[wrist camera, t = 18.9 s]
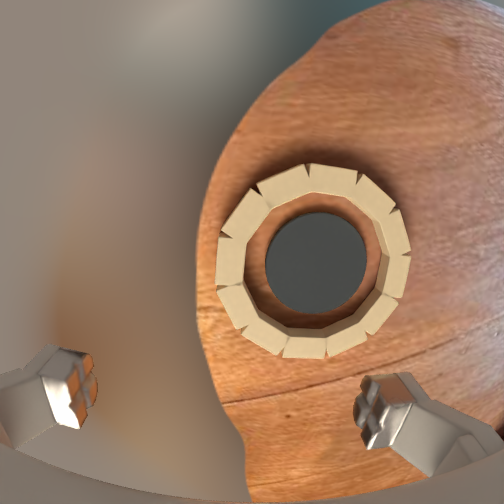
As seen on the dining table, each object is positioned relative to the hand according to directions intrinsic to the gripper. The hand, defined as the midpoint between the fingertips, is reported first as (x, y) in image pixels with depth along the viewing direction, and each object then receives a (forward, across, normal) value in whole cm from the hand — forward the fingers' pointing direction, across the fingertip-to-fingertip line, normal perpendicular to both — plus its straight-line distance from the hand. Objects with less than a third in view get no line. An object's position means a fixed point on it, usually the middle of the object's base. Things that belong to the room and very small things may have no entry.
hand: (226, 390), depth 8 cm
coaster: (+16, -6, 0) cm, 17 cm away
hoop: (+16, -6, 0) cm, 17 cm away
